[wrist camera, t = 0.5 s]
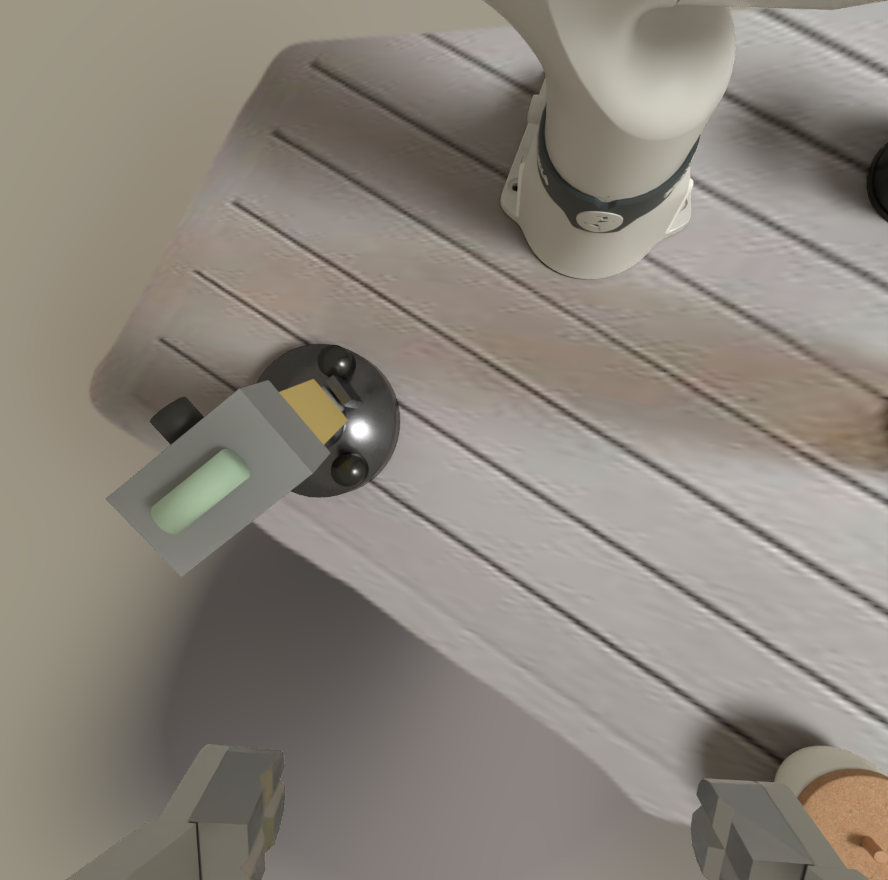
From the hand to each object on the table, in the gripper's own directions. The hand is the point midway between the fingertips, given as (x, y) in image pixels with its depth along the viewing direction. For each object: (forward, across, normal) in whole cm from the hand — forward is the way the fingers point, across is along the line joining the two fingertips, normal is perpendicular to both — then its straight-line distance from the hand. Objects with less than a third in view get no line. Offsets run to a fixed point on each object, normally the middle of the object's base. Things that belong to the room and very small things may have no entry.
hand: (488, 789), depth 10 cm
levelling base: (+47, +15, +2) cm, 49 cm away
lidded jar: (+34, -36, +32) cm, 59 cm away
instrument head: (+43, +16, 0) cm, 46 cm away
